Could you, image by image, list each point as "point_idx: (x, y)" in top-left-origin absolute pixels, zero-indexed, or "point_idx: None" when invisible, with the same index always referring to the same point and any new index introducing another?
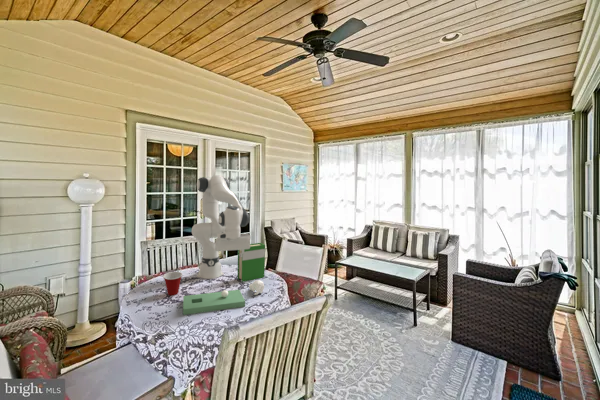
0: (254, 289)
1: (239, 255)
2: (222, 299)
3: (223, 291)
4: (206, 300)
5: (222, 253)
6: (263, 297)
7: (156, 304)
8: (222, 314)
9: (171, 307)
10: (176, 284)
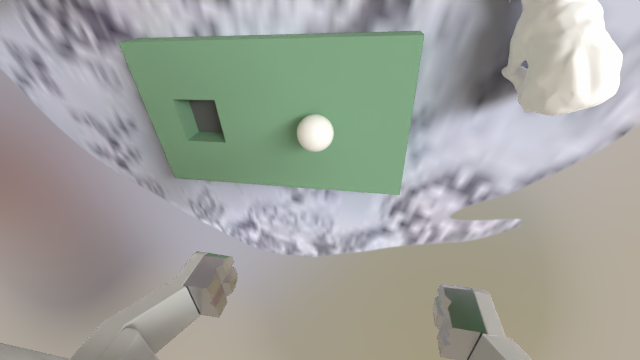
0: (524, 60)
1: (447, 298)
2: None
3: (304, 145)
4: (239, 133)
5: (152, 344)
6: (529, 122)
7: (44, 41)
8: (308, 205)
9: (120, 93)
10: None
